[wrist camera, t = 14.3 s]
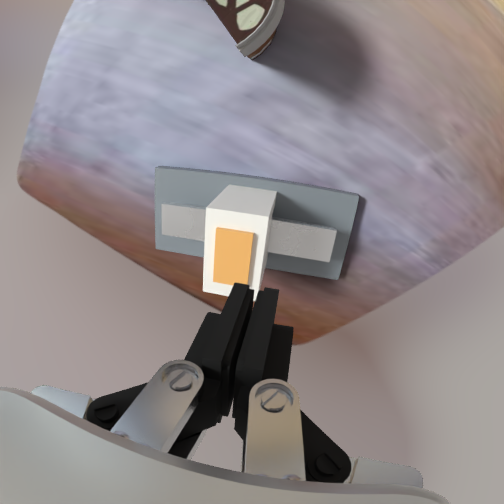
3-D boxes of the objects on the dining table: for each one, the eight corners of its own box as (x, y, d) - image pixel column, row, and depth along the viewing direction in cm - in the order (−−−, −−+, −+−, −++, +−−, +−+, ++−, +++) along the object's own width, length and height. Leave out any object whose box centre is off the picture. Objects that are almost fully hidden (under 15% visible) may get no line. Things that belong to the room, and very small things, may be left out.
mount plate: (357, 193, 30) (363, 203, 27) (337, 274, 34) (340, 291, 31) (159, 165, 32) (144, 172, 29) (159, 244, 36) (147, 257, 33)
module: (276, 191, 30) (268, 218, 23) (267, 260, 34) (256, 303, 26) (228, 184, 30) (204, 209, 23) (223, 252, 34) (201, 293, 27)
